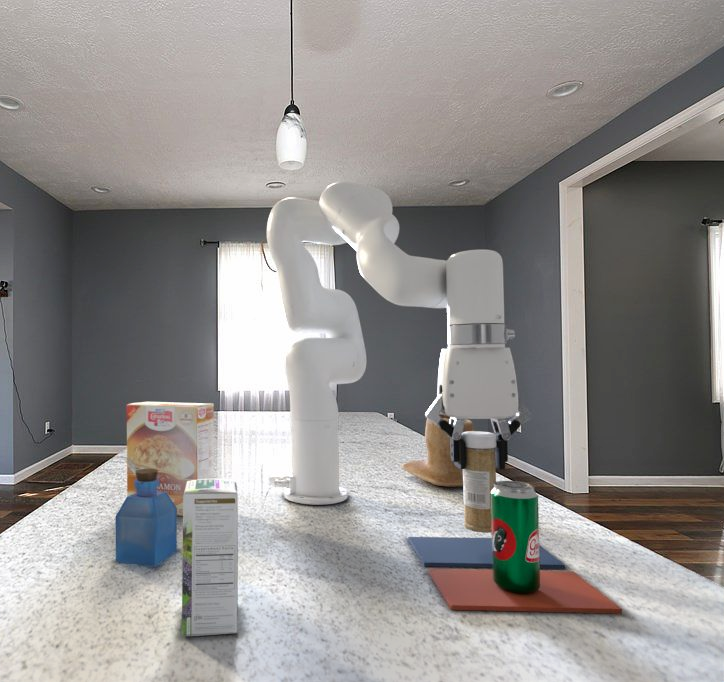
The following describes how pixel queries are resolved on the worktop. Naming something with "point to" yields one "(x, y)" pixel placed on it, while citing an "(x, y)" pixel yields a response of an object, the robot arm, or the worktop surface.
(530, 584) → the soda can
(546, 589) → the terracotta mat
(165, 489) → the coffeecake box
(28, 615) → the worktop surface
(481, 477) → the sprinkles bottle
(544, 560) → the slate-blue mat
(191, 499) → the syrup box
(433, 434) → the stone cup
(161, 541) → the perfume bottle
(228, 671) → the worktop surface
